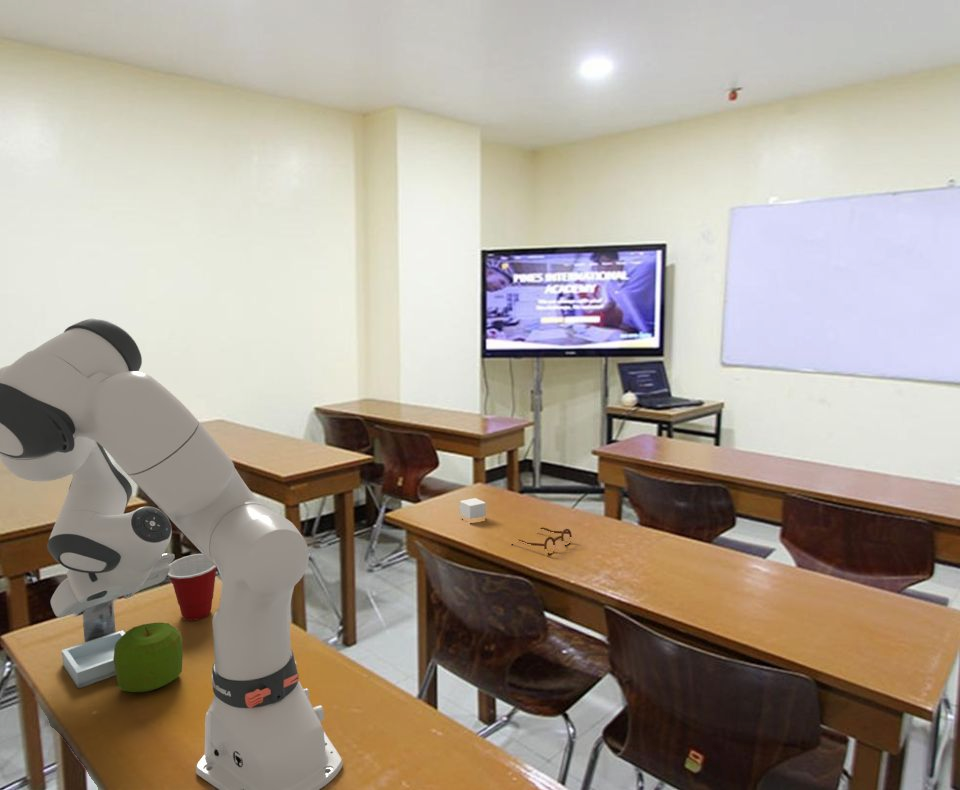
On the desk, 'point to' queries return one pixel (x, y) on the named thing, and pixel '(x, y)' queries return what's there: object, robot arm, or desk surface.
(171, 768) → the desk surface
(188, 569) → the plastic cup
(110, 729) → the desk surface
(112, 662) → the tray
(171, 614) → the desk surface
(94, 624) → the tin
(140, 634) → the apple
